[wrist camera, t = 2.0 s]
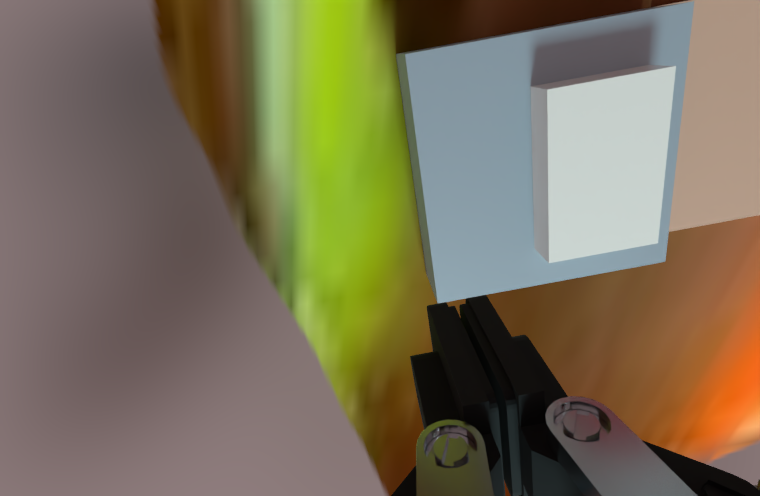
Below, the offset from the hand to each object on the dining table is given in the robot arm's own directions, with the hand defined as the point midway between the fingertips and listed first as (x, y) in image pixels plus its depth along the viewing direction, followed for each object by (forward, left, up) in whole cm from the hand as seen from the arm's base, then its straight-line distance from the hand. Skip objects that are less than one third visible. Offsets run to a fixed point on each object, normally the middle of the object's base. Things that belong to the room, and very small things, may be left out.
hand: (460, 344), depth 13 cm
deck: (0, +8, -17) cm, 19 cm away
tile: (0, +10, -13) cm, 16 cm away
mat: (0, +22, -17) cm, 28 cm away
